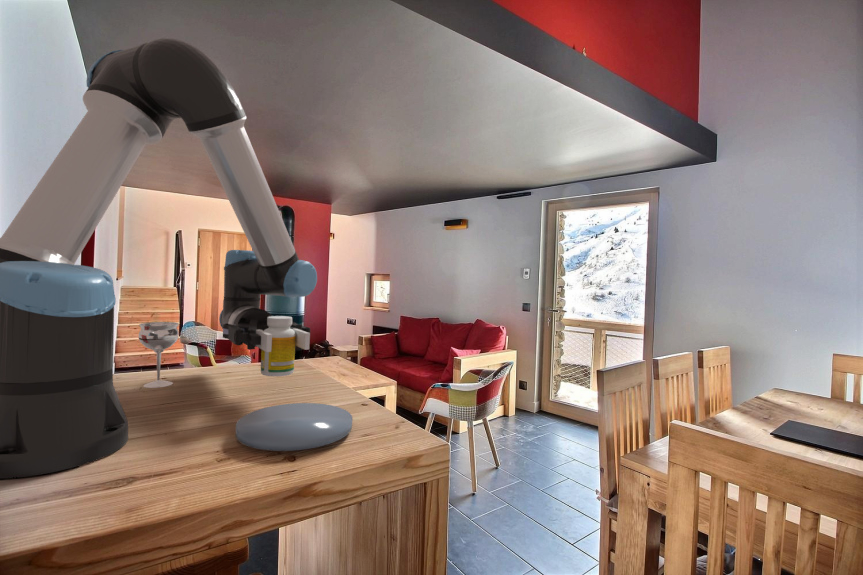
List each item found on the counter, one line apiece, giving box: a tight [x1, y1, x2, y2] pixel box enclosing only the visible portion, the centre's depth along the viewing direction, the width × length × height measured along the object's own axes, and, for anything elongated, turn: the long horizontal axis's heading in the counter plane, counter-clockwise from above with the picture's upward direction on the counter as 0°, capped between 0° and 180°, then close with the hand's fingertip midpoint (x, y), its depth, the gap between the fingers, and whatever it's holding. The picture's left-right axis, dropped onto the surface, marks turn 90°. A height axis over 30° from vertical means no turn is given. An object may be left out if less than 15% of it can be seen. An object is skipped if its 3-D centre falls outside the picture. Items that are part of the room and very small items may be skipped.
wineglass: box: [138, 321, 180, 389], centre depth 85 cm, size 7×7×12 cm
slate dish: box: [235, 402, 353, 452], centre depth 62 cm, size 16×16×2 cm
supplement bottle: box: [260, 315, 296, 377], centre depth 73 cm, size 5×5×10 cm
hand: (288, 342), depth 69 cm, fingers closed on supplement bottle, 5 cm apart
